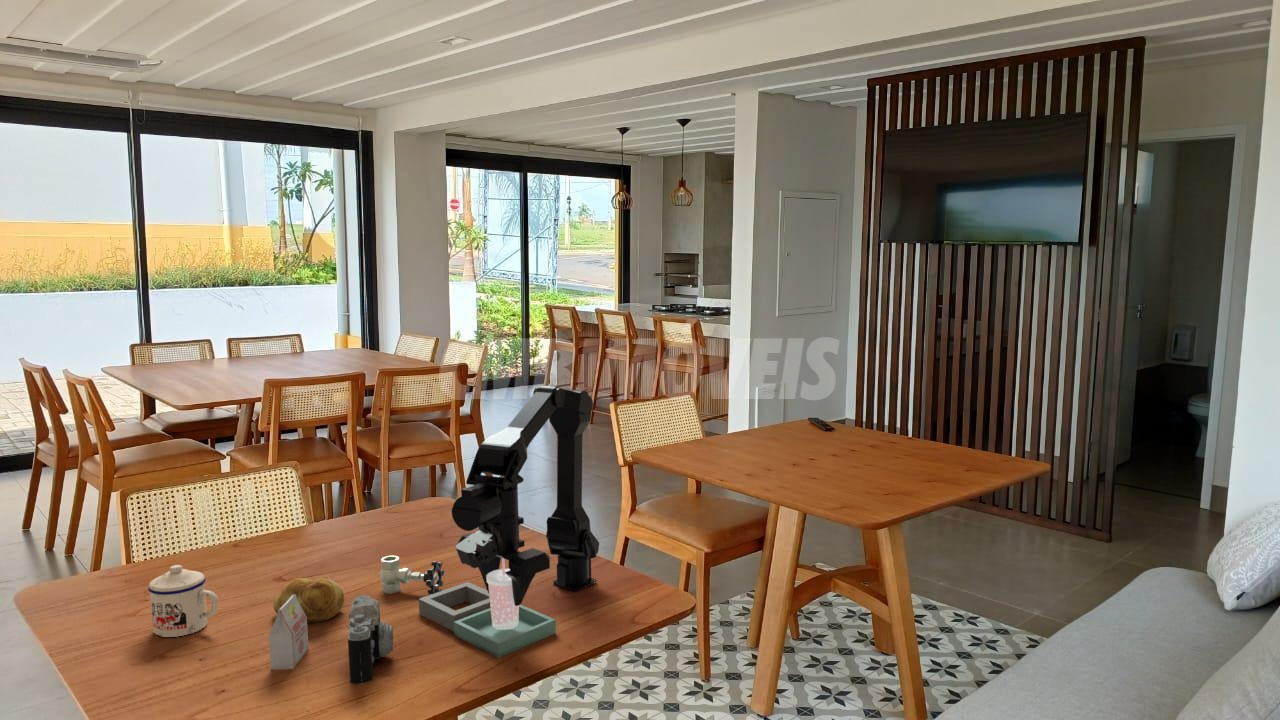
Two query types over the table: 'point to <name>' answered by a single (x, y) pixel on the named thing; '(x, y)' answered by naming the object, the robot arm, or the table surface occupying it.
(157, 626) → the teacup with lid
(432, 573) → the valve
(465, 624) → the tray
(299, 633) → the milk carton
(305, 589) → the bread roll
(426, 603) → the holder block
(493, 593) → the beverage cup
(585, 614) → the table surface
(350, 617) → the camera
